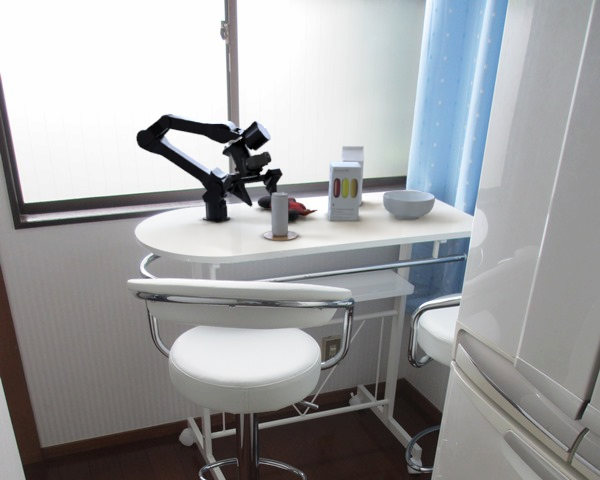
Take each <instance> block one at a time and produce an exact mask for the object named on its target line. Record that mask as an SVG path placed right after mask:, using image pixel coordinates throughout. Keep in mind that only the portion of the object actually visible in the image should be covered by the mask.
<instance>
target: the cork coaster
mask: <svg viewBox="0 0 600 480" xmlns="http://www.w3.org/2000/svg"><path fill="white" fill-rule="evenodd" d="M263 237H264V239H266V240H269V241H272V242H273V241H275V242H286V241H293V240H295V239H297V238H298V234H297V233H296V232H295V231H291V230H288V234H287V235H286V236H282V237H278V236H274V235H273V234H272V230H270V231H267V232H265V233H264V234H263Z"/></svg>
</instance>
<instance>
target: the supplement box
mask: <svg viewBox="0 0 600 480" xmlns="http://www.w3.org/2000/svg"><path fill="white" fill-rule="evenodd" d="M328 175H329V177H328V198H327V216H328V218H329V221H330V222H334V221H335V222H336V221H337V222H338V221H339V222H341V221H342V222H346V221H347V222H358V221H359V213H360V205H359V199H360V182H361V166H360V165H359V163H358V162H342V161H329V174H328Z"/></svg>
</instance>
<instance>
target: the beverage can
mask: <svg viewBox="0 0 600 480" xmlns="http://www.w3.org/2000/svg"><path fill="white" fill-rule="evenodd" d="M288 198H289V194H288V192H285V191H277V192H274V193H272V196H271V202H272V209H271V231H272V234H273V235H274V236H278V237H282V236H286V235H287V234H288V231H289V222H288Z"/></svg>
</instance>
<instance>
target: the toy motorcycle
mask: <svg viewBox="0 0 600 480" xmlns="http://www.w3.org/2000/svg"><path fill="white" fill-rule="evenodd" d="M257 205H258V207H260V208H262V209H266V210H272V202H271V196H270V195H265V196H262V197H259V199H258V200H257ZM317 211H318V209H312V210H311V209H309V208H307V207H306V205H304V203H302V202H299V201H297V200H296V198H294V197H288V223H290V222H293V221H296V220H298V218H299V217H300V216H301V217H306V216H309V215H311V214H313V213H315V212H317Z"/></svg>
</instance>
